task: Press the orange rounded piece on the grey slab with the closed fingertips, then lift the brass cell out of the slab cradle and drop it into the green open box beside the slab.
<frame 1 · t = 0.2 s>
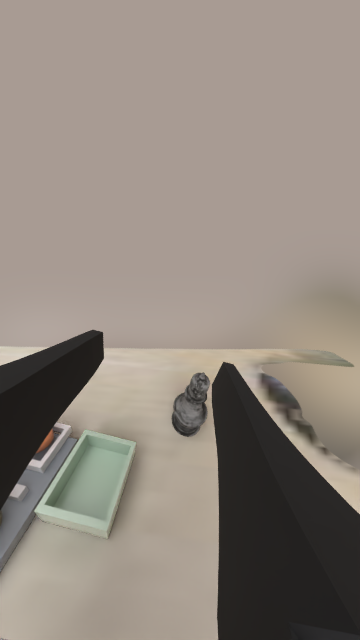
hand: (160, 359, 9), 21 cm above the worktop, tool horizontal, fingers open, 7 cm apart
grey slab: (11, 495, 17), on the worktop
orange rounded piece: (38, 435, 18), point 4 cm above the worktop, slide at 0.0 cm
green open box: (96, 482, 19), on the worktop
salt shaker: (185, 420, 27), on the worktop
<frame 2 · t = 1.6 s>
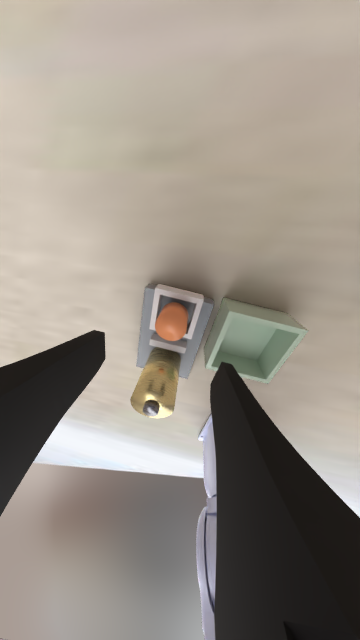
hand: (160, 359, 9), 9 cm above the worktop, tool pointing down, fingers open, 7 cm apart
grey slab: (171, 333, 19), on the worktop
orange rounded piece: (172, 320, 13), point 4 cm above the worktop, slide at 0.0 cm
green open box: (241, 332, 18), on the worktop
cell: (165, 359, 19), point 1 cm above the worktop, touching grey slab
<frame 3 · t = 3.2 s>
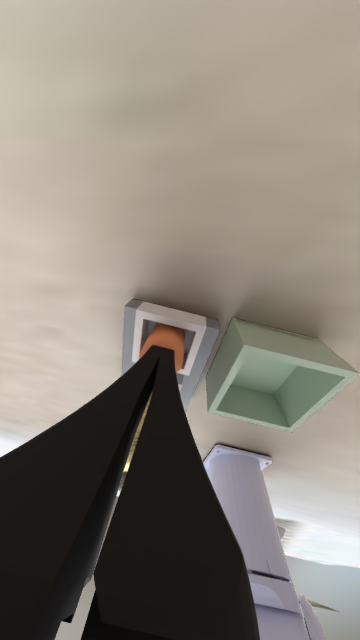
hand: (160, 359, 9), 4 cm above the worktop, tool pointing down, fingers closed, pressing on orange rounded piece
grey slab: (164, 359, 15), on the worktop
orange rounded piece: (164, 347, 10), point 3 cm above the worktop, slide at -0.9 cm, touching gripper
green open box: (255, 360, 14), on the worktop
cell: (155, 392, 15), point 1 cm above the worktop, touching grey slab
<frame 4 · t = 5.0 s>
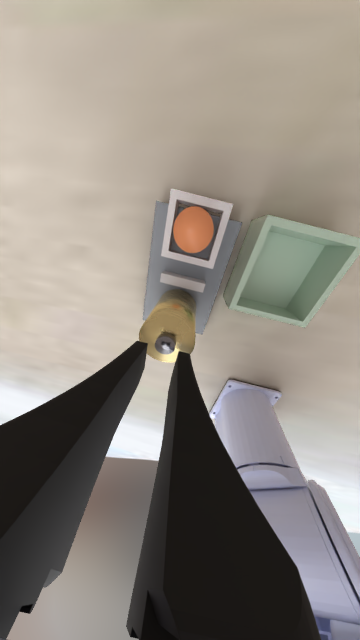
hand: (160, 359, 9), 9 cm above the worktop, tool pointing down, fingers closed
grey slab: (184, 276, 16), on the worktop
orange rounded piece: (193, 231, 11), point 4 cm above the worktop, slide at -0.5 cm
green open box: (270, 271, 15), on the worktop
cell: (177, 307, 16), point 1 cm above the worktop, touching grey slab
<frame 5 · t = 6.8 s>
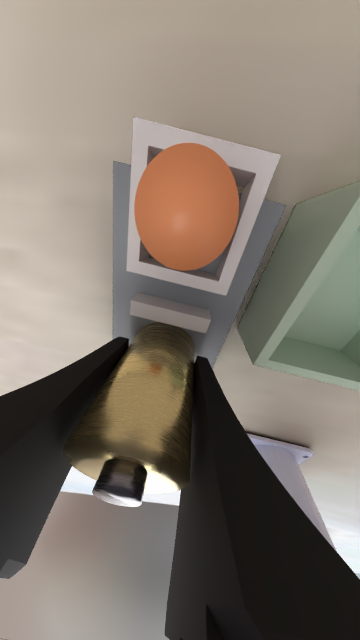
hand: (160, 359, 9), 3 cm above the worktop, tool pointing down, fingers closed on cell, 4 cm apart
grey slab: (176, 298, 10), on the worktop
orange rounded piece: (187, 222, 5), point 4 cm above the worktop, slide at -0.5 cm
green open box: (319, 292, 9), on the worktop
cell: (164, 348, 10), point 2 cm above the worktop, touching grey slab, gripper
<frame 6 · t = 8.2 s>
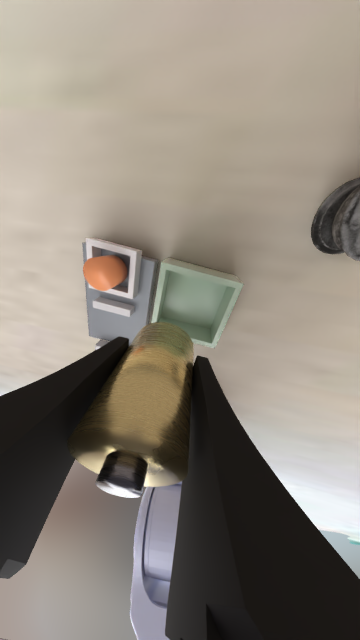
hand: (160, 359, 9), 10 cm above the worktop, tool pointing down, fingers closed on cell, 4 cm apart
grey slab: (122, 299, 18), on the worktop
orange rounded piece: (107, 272, 13), point 4 cm above the worktop, slide at -0.5 cm
green open box: (192, 297, 17), on the worktop
salt shaker: (345, 219, 13), on the worktop
cell: (164, 347, 10), point 8 cm above the worktop, touching gripper
when the fingers open (4 cm above the worktop, at t = 9.8 s): cell drops 2 cm, resting on green open box.
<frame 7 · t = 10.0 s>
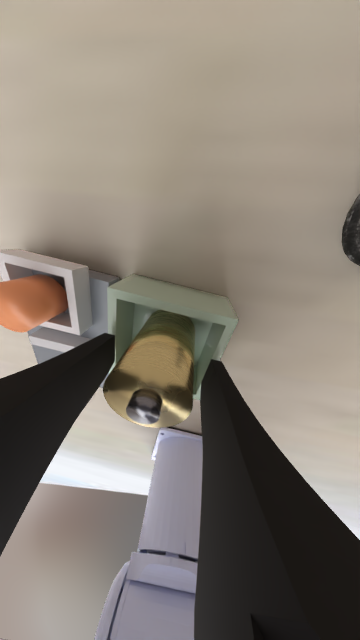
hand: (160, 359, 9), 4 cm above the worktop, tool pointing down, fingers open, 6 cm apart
grey slab: (80, 327, 14), on the worktop
orange rounded piece: (30, 301, 9), point 4 cm above the worktop, slide at -0.5 cm
green open box: (171, 326, 13), on the worktop
cell: (170, 331, 12), point 1 cm above the worktop, touching green open box
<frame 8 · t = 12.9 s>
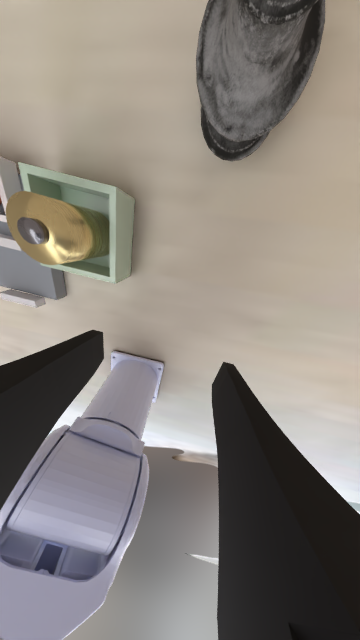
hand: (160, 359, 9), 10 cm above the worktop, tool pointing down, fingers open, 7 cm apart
grey slab: (27, 240, 16), on the worktop
green open box: (98, 233, 15), on the worktop
salt shaker: (238, 111, 11), on the worktop
cell: (95, 234, 15), point 1 cm above the worktop, touching green open box
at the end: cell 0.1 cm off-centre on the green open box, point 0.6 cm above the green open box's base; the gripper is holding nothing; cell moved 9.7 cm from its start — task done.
